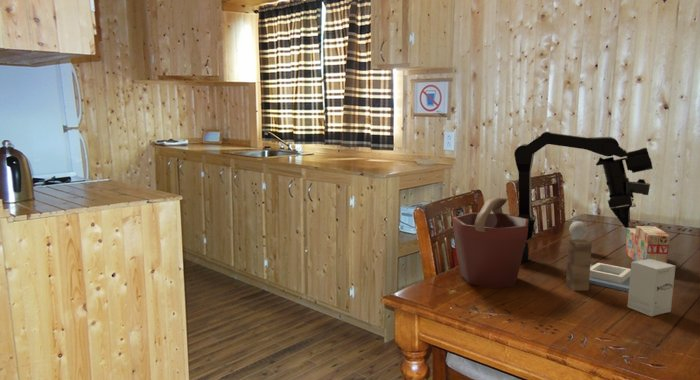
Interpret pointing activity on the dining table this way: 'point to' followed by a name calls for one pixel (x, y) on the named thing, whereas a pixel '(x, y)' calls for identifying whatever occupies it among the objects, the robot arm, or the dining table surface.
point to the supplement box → (651, 287)
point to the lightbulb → (578, 230)
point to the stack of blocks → (647, 243)
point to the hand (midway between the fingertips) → (627, 224)
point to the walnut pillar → (578, 264)
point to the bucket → (490, 245)
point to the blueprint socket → (610, 276)
